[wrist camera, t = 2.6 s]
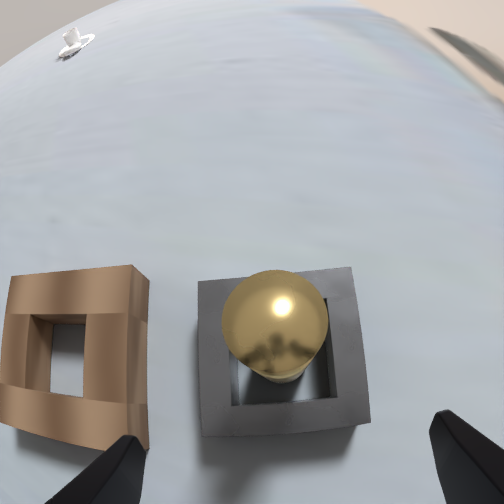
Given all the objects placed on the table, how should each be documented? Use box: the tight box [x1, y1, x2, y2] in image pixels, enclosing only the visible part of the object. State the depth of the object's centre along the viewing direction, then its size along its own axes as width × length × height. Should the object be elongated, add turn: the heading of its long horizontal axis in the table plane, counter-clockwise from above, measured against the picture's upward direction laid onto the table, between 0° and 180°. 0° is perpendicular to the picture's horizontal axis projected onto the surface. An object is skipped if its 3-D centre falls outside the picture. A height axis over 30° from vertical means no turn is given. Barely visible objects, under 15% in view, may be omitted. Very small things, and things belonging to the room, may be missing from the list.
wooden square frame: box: [0, 265, 149, 451], centre depth 19 cm, size 12×12×3 cm
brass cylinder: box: [222, 270, 328, 383], centre depth 14 cm, size 3×3×11 cm
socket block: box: [198, 267, 371, 437], centre depth 18 cm, size 9×9×3 cm
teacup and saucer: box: [59, 28, 95, 57], centre depth 44 cm, size 9×8×4 cm
